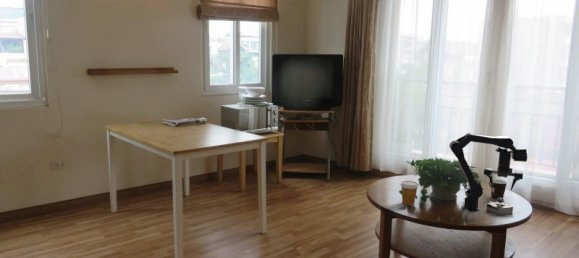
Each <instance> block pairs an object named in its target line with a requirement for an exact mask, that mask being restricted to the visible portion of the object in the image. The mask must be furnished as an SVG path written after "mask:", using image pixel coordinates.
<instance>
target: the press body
mask: <svg viewBox="0 0 579 258" xmlns="http://www.w3.org/2000/svg"><path fill="white" fill-rule="evenodd" d="M485 210H486V211H487V212H489V213H491V214H494V215H496V216H497V217H500V216H508V215H510V216H511V215H513V210H514V206H511V205H510V204H507V203H504V202H501V206H499V202H498V201H492V200H490V201H488V202H486V209H485Z"/></svg>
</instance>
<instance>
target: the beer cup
mask: <svg viewBox="0 0 579 258" xmlns="http://www.w3.org/2000/svg"><path fill="white" fill-rule="evenodd" d="M418 184H419V183H418V182H416V181H412V180H403V181H401V183H400V186H401V198H402V199H401V200H402V204H403V205H404V206H409V207H410V206H415V202H416V201H415V200H416V198H417V197H416V196H417V191H418V188H419V185H418Z"/></svg>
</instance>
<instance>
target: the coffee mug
mask: <svg viewBox="0 0 579 258" xmlns="http://www.w3.org/2000/svg"><path fill="white" fill-rule="evenodd" d="M507 183H508V182H507V181H505V180H502V179H493V188H492V186H491V182H490V181H488V185H489V187H490V194H491V195H490V196H491V199H493V200H497V198H503V199H504V196H505V191H506V189H507Z"/></svg>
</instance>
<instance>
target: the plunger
mask: <svg viewBox="0 0 579 258" xmlns="http://www.w3.org/2000/svg"><path fill="white" fill-rule="evenodd" d="M496 202H499V206H501V202H502V203H504V197H503V198H497V201H496Z"/></svg>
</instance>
